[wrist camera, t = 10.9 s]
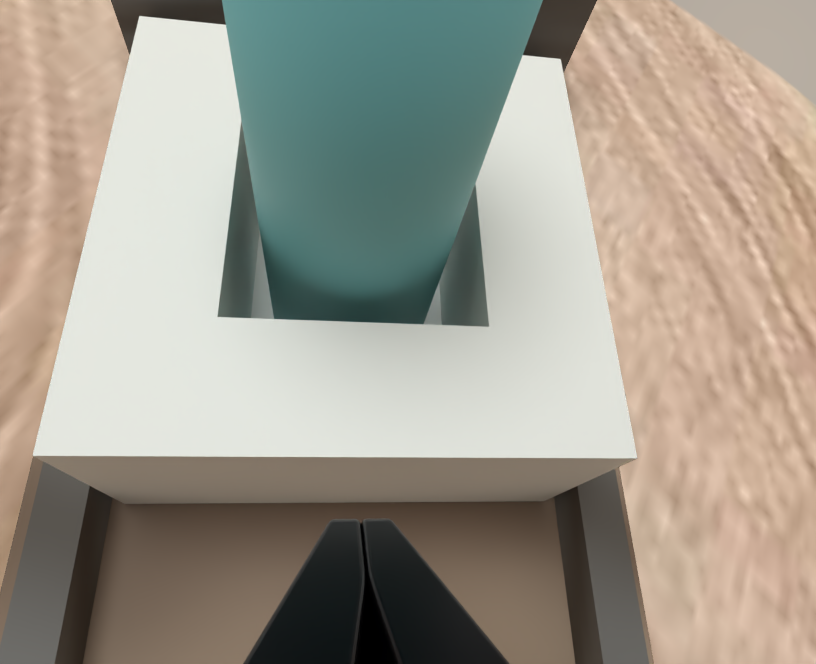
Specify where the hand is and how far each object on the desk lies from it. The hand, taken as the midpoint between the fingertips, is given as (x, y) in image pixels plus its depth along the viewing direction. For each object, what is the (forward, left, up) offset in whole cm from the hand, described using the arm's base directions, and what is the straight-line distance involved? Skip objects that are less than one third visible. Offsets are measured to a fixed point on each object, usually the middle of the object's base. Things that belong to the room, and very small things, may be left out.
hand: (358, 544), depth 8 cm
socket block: (+6, 0, -6) cm, 9 cm away
